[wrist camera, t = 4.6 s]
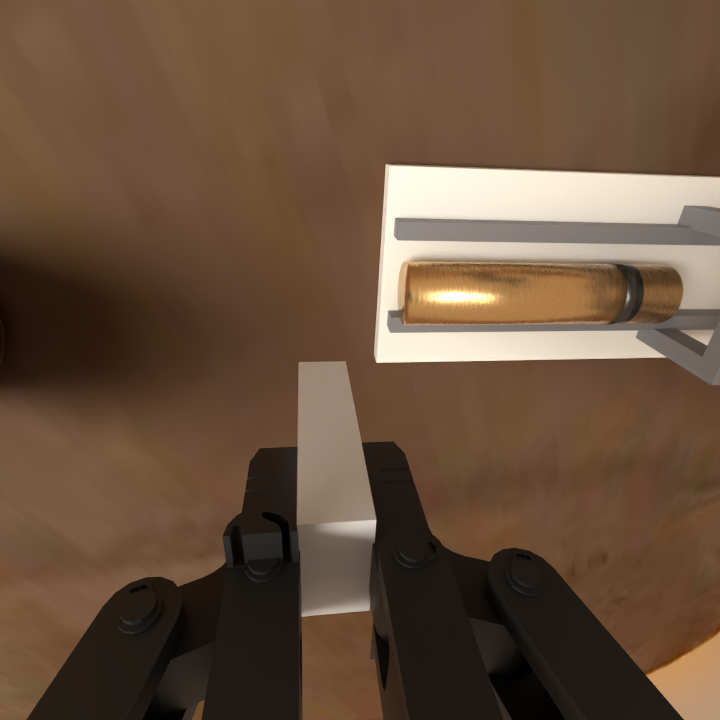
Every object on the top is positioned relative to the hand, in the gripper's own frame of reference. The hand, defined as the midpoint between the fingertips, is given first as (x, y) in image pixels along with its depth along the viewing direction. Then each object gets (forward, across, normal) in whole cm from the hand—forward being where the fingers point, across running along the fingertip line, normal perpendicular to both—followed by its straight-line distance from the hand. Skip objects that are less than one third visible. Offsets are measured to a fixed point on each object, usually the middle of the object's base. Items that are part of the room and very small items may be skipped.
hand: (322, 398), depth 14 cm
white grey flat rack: (+14, +19, 0) cm, 24 cm away
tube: (+13, +13, 0) cm, 18 cm away
